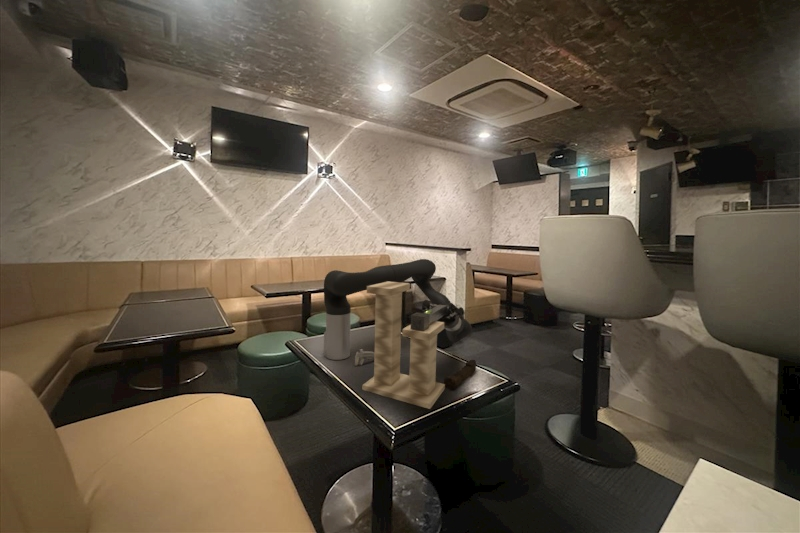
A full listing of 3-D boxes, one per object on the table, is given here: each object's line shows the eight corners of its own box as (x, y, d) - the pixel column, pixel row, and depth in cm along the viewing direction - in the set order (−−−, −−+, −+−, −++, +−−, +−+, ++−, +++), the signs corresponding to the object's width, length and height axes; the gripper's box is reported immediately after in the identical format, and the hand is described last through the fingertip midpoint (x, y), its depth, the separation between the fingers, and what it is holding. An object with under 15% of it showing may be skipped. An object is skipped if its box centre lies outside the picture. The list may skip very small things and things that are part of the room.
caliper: (356, 367, 110) (356, 350, 109) (354, 366, 111) (354, 349, 110) (401, 355, 122) (401, 340, 122) (399, 354, 123) (400, 339, 123)
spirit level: (410, 329, 86) (411, 315, 86) (436, 312, 106) (437, 301, 105) (423, 331, 84) (424, 317, 84) (448, 314, 104) (448, 302, 104)
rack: (362, 389, 93) (363, 285, 90) (383, 373, 105) (385, 281, 102) (429, 409, 84) (434, 293, 81) (444, 388, 95) (449, 287, 92)
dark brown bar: (454, 392, 94) (455, 377, 94) (443, 387, 97) (444, 373, 96) (482, 373, 108) (483, 360, 108) (472, 369, 111) (472, 357, 110)
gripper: (433, 306, 117) (419, 291, 104) (470, 311, 111) (461, 295, 98) (429, 325, 114) (414, 312, 101) (466, 331, 108) (456, 318, 95)
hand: (437, 303), depth 99 cm, fingers open, 8 cm apart
